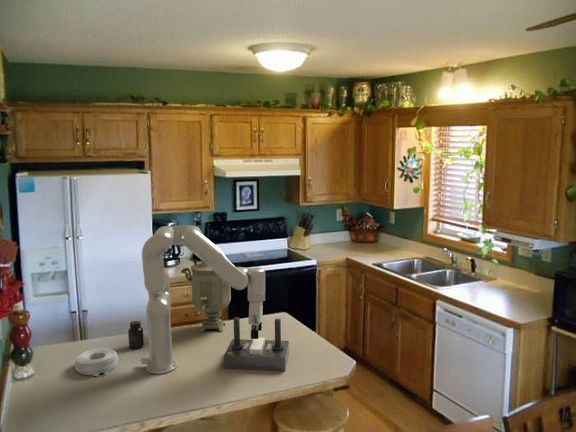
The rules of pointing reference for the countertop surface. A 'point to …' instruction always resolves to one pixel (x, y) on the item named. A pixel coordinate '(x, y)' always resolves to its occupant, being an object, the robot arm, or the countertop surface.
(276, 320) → the black toggle lever
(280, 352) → the gray switch control box
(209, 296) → the samovar
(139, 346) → the supplement bottle
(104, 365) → the cable
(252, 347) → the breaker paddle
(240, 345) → the dark grey upright post
